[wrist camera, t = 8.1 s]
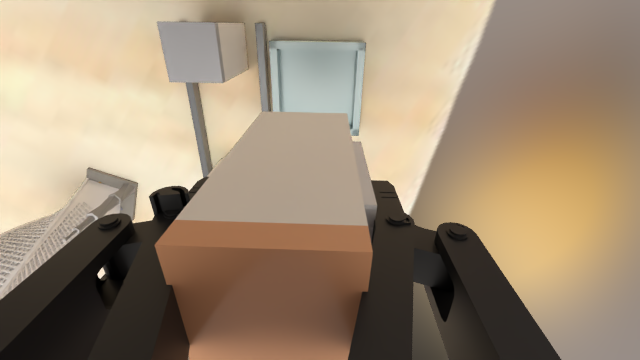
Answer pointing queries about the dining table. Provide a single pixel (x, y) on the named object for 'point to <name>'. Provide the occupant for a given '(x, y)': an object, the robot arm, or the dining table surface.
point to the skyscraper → (62, 226)
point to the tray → (318, 77)
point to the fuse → (274, 245)
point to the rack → (210, 65)
